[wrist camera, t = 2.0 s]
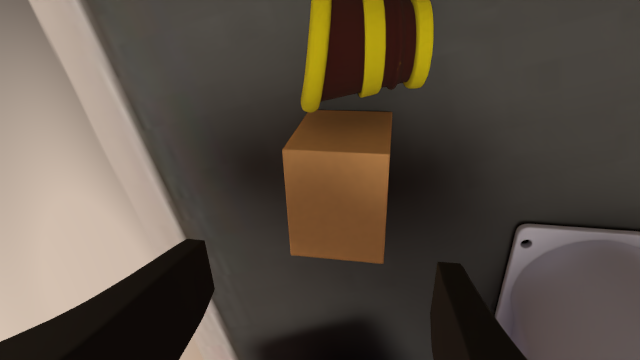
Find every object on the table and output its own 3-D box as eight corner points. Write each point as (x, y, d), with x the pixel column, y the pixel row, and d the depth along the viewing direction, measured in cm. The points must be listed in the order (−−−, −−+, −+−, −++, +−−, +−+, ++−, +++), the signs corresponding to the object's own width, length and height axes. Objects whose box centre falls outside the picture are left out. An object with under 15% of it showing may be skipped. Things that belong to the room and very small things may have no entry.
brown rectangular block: (386, 202, 20) (383, 264, 16) (313, 197, 21) (290, 255, 17) (392, 111, 18) (390, 154, 14) (309, 109, 19) (281, 149, 14)
